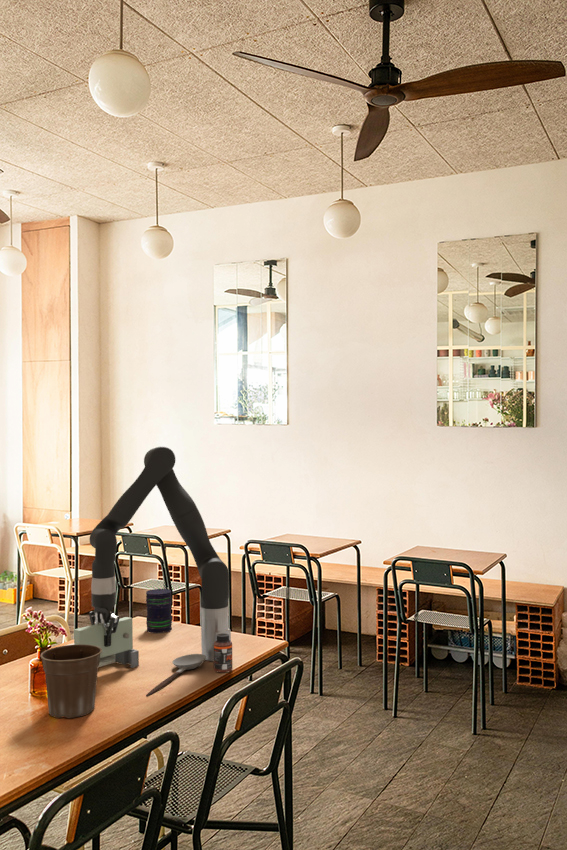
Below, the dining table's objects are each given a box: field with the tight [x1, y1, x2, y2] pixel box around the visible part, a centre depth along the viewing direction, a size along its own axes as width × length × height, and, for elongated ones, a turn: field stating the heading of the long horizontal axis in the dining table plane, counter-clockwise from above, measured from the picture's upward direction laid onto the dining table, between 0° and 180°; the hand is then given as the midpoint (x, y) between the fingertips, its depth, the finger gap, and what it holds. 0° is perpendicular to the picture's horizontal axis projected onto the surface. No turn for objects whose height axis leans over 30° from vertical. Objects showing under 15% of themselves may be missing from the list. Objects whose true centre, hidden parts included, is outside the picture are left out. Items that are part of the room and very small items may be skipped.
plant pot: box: [40, 644, 102, 719], centre depth 201 cm, size 16×16×16 cm
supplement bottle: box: [213, 633, 233, 674], centre depth 233 cm, size 6×6×11 cm
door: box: [73, 616, 134, 658], centre depth 233 cm, size 4×20×10 cm, turn 139°
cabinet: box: [64, 642, 140, 669], centre depth 236 cm, size 16×23×8 cm
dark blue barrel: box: [145, 588, 173, 634], centre depth 285 cm, size 10×10×15 cm
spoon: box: [145, 653, 206, 697], centre depth 226 cm, size 11×33×3 cm, turn 161°
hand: (104, 645), depth 233 cm, fingers closed on door, 3 cm apart
